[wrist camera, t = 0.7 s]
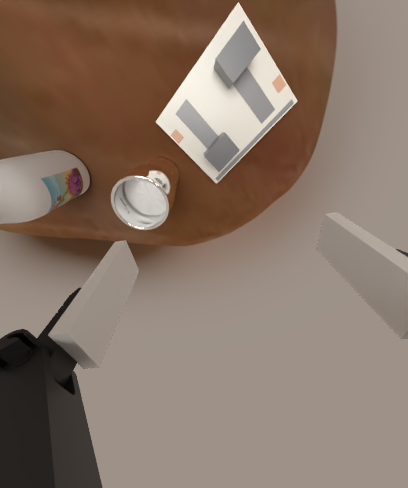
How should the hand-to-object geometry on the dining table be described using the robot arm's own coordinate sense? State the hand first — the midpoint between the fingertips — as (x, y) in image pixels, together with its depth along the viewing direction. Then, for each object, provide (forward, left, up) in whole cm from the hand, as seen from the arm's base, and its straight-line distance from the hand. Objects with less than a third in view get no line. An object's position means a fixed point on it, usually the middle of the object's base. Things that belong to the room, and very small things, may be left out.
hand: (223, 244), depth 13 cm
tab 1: (-7, +12, -22) cm, 26 cm away
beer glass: (-6, -6, -25) cm, 26 cm away
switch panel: (-4, +8, -25) cm, 26 cm away
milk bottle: (-18, -18, -25) cm, 35 cm away
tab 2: (-1, +4, -22) cm, 22 cm away
